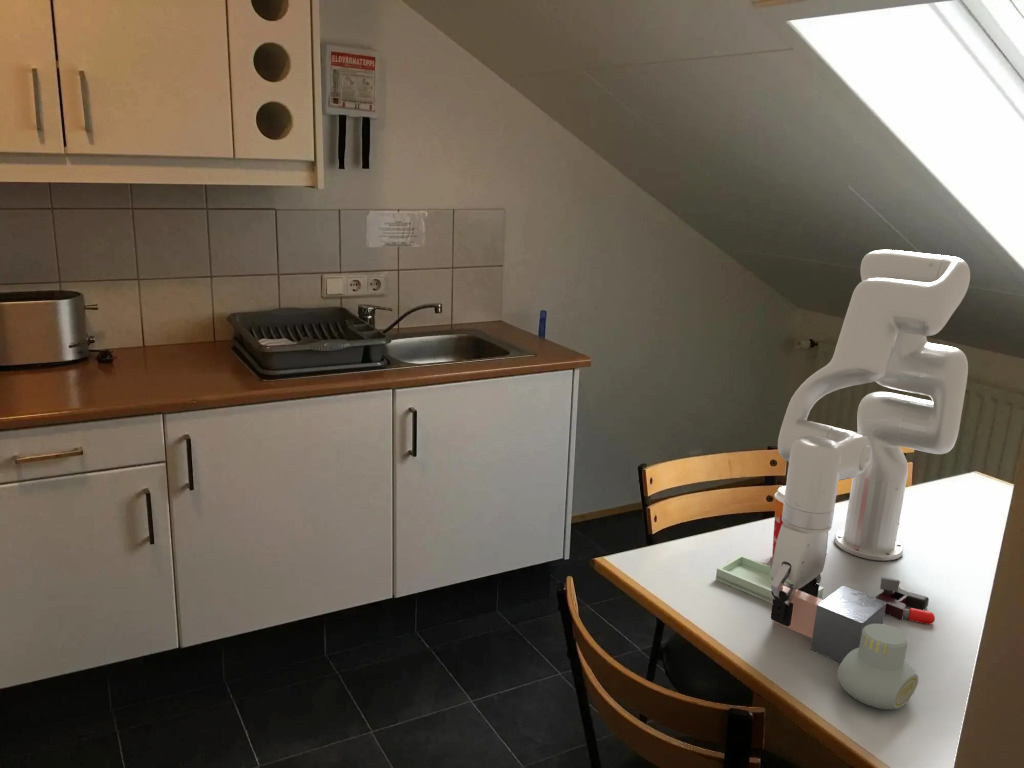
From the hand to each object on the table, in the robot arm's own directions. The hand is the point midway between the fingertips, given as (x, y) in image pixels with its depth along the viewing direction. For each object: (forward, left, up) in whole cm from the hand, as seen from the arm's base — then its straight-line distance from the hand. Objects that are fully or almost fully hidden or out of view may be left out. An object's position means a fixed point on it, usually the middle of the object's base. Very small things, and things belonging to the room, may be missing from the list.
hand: (793, 612), depth 137 cm
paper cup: (-21, -11, -2) cm, 24 cm away
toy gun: (-17, +11, -3) cm, 21 cm away
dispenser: (0, +9, -2) cm, 9 cm away
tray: (-8, -8, -2) cm, 12 cm away
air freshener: (+9, +17, -2) cm, 19 cm away
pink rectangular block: (0, +3, -2) cm, 4 cm away
